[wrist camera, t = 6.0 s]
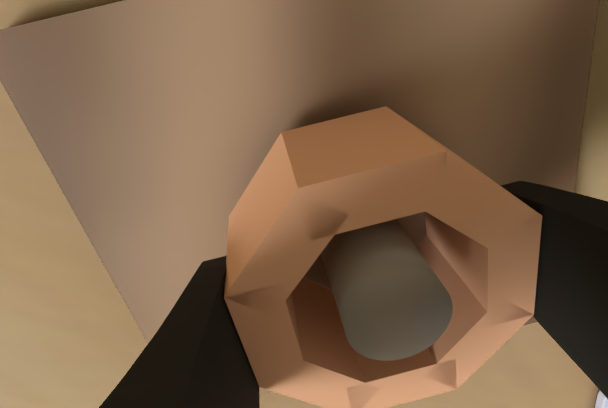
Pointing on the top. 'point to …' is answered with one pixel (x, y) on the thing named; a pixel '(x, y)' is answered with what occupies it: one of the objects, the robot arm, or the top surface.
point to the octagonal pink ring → (361, 213)
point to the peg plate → (289, 127)
